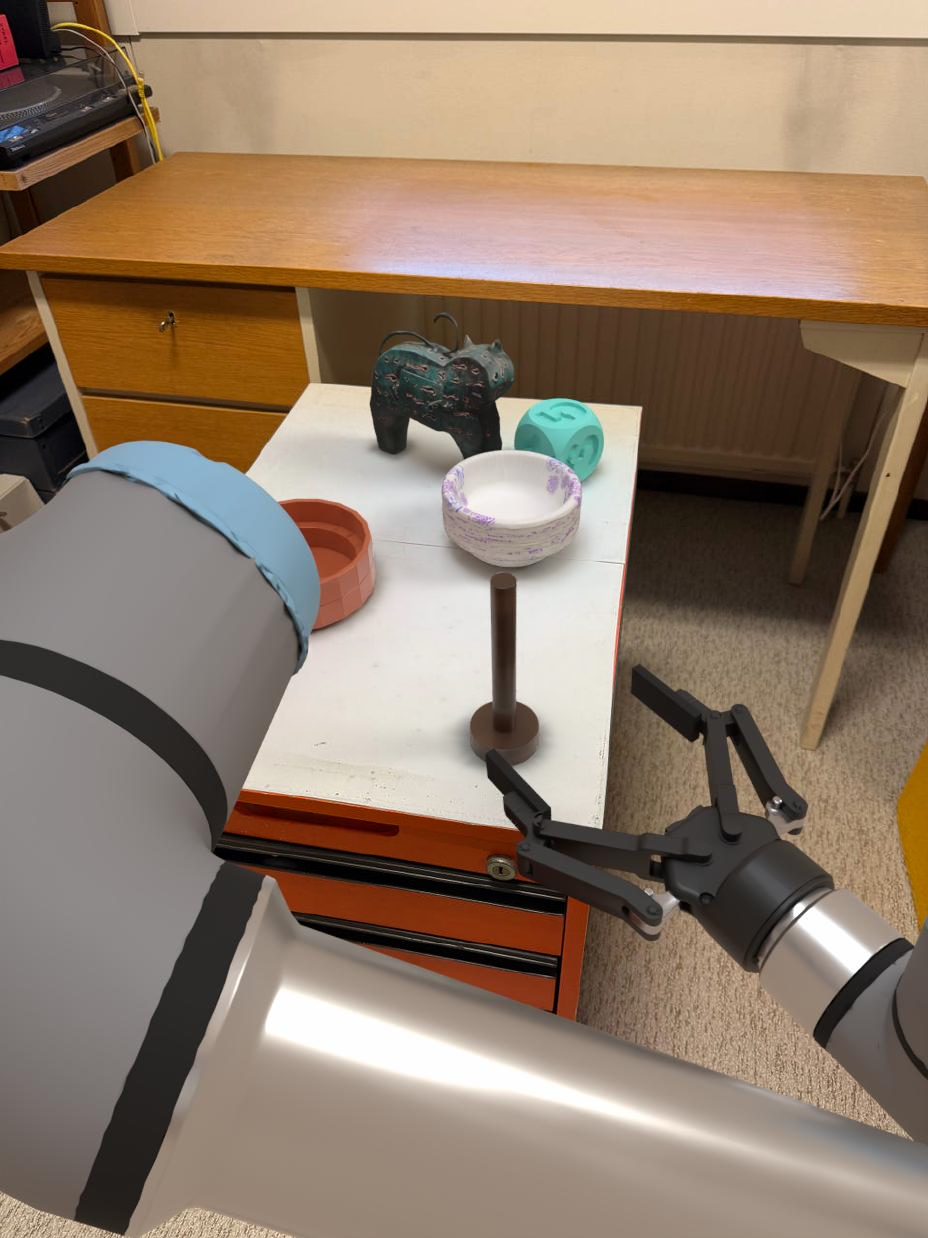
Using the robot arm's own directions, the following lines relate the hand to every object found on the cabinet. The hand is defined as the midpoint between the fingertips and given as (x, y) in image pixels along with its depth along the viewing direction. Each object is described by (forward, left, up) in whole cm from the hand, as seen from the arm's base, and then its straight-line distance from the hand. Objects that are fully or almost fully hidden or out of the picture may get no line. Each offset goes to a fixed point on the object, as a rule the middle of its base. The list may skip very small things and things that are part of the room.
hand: (565, 718), depth 65 cm
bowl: (-17, +35, -11) cm, 41 cm away
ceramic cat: (+3, +55, -11) cm, 56 cm away
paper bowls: (+7, +36, -11) cm, 38 cm away
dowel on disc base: (-2, +8, -11) cm, 14 cm away
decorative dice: (+17, +49, -11) cm, 53 cm away
